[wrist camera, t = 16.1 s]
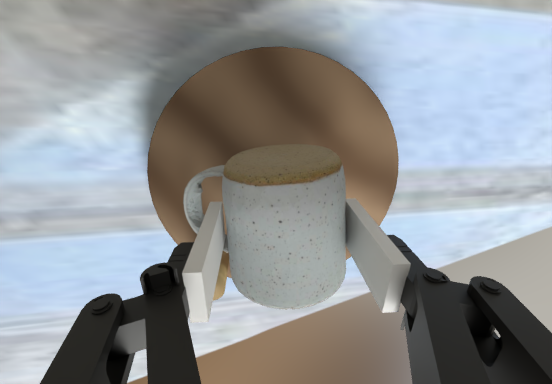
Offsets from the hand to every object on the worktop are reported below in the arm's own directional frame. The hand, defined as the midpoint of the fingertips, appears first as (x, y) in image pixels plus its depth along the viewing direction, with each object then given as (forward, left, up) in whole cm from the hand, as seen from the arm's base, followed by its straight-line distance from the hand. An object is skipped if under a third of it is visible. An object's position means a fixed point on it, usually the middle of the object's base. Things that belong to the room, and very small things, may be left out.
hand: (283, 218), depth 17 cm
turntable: (0, 0, -7) cm, 7 cm away
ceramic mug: (-1, 0, -3) cm, 4 cm away
